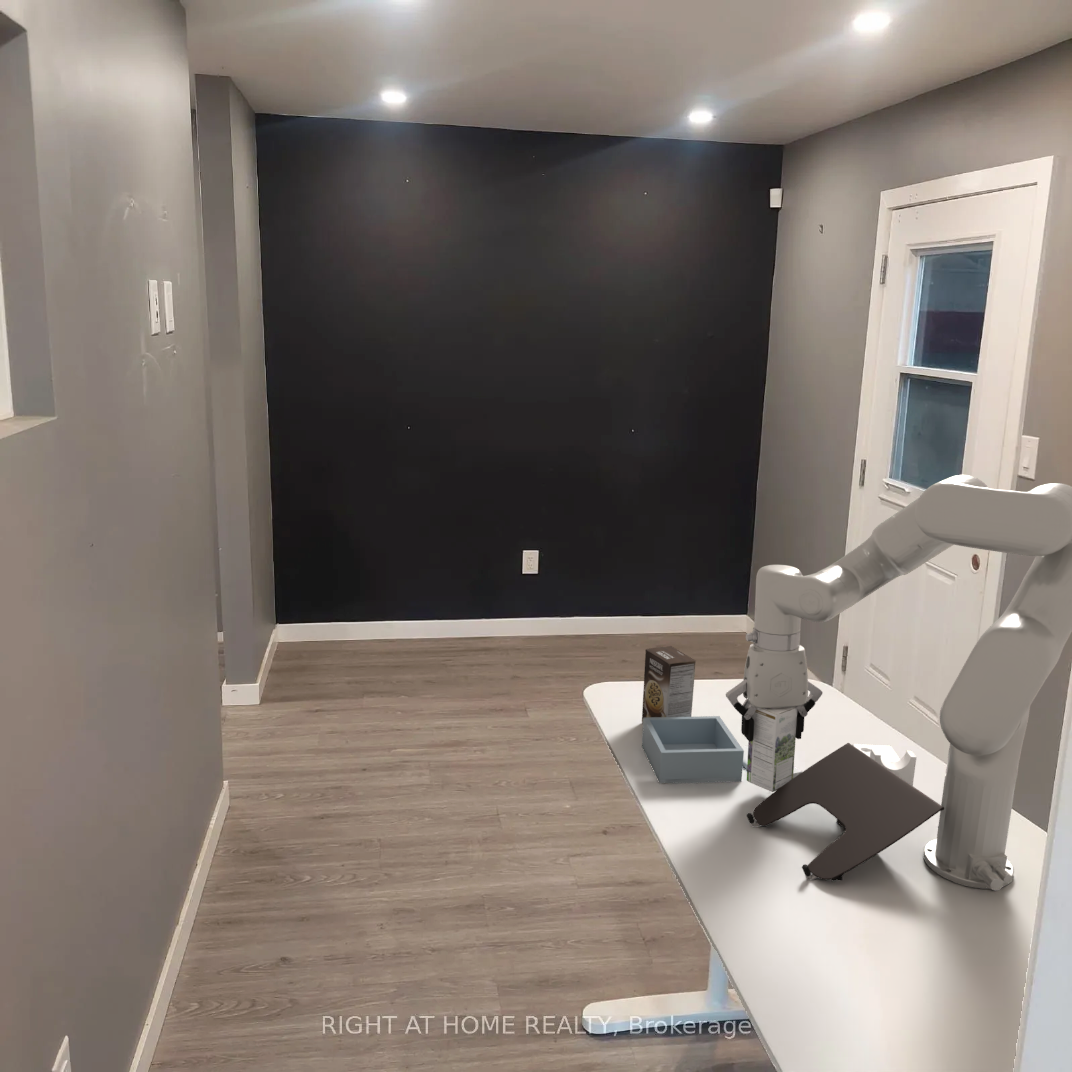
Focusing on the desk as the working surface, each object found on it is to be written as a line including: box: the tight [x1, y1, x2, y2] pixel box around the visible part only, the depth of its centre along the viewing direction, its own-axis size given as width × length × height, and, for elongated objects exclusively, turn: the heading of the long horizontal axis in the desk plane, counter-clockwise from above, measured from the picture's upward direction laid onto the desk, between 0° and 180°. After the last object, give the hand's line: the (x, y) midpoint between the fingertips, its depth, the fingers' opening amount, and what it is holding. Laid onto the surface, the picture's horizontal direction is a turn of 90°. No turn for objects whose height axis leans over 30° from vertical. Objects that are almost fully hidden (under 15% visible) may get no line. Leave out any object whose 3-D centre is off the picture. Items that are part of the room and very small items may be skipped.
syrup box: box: [746, 707, 797, 793], centre depth 162 cm, size 6×6×14 cm
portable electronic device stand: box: [746, 742, 944, 882], centre depth 151 cm, size 23×23×9 cm
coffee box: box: [641, 645, 697, 724], centre depth 189 cm, size 9×6×16 cm
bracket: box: [852, 743, 917, 787], centre depth 172 cm, size 13×7×8 cm, turn 177°
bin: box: [641, 715, 744, 784], centre depth 176 cm, size 15×15×6 cm
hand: (772, 736), depth 162 cm, fingers closed on syrup box, 7 cm apart
